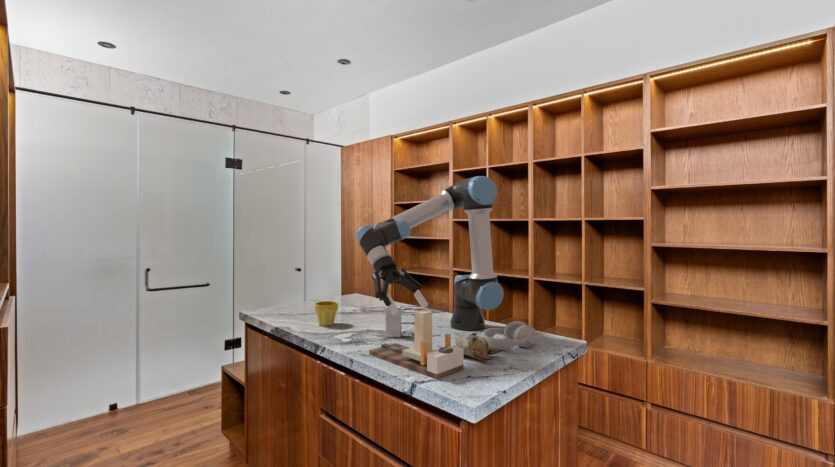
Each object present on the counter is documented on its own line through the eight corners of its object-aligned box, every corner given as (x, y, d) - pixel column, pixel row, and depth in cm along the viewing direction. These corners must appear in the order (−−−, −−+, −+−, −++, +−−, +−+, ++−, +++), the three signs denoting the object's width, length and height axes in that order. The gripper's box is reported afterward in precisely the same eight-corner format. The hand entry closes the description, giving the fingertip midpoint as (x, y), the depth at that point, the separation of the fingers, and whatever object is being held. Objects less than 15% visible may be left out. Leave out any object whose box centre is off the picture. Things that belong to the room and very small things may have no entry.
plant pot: (335, 327, 177) (335, 305, 177) (311, 327, 177) (311, 305, 177) (340, 321, 187) (340, 300, 187) (318, 321, 188) (317, 300, 187)
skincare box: (401, 334, 165) (401, 305, 165) (400, 337, 161) (400, 307, 161) (387, 334, 166) (387, 305, 166) (385, 337, 161) (385, 307, 161)
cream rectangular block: (426, 370, 120) (426, 351, 119) (453, 361, 128) (453, 343, 128) (437, 374, 116) (437, 354, 116) (463, 364, 125) (463, 346, 125)
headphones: (523, 335, 163) (476, 344, 159) (520, 316, 162) (474, 325, 159) (545, 348, 145) (494, 359, 141) (543, 327, 145) (491, 337, 141)
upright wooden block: (402, 358, 129) (402, 311, 129) (422, 352, 136) (422, 307, 136) (424, 365, 122) (424, 316, 122) (444, 359, 129) (444, 312, 128)
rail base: (369, 354, 139) (369, 347, 139) (395, 347, 148) (395, 340, 148) (437, 379, 117) (437, 370, 117) (463, 369, 125) (463, 361, 125)
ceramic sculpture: (462, 325, 144) (502, 334, 137) (461, 349, 145) (501, 359, 137) (449, 332, 135) (491, 341, 128) (447, 357, 136) (490, 368, 128)
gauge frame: (420, 364, 121) (420, 341, 121) (447, 355, 130) (447, 333, 130) (423, 365, 120) (423, 342, 120) (450, 356, 129) (450, 334, 129)
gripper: (402, 266, 154) (431, 311, 144) (348, 271, 136) (376, 323, 126) (412, 252, 150) (442, 298, 140) (357, 256, 133) (387, 308, 122)
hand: (411, 310), depth 133 cm, fingers open, 13 cm apart
